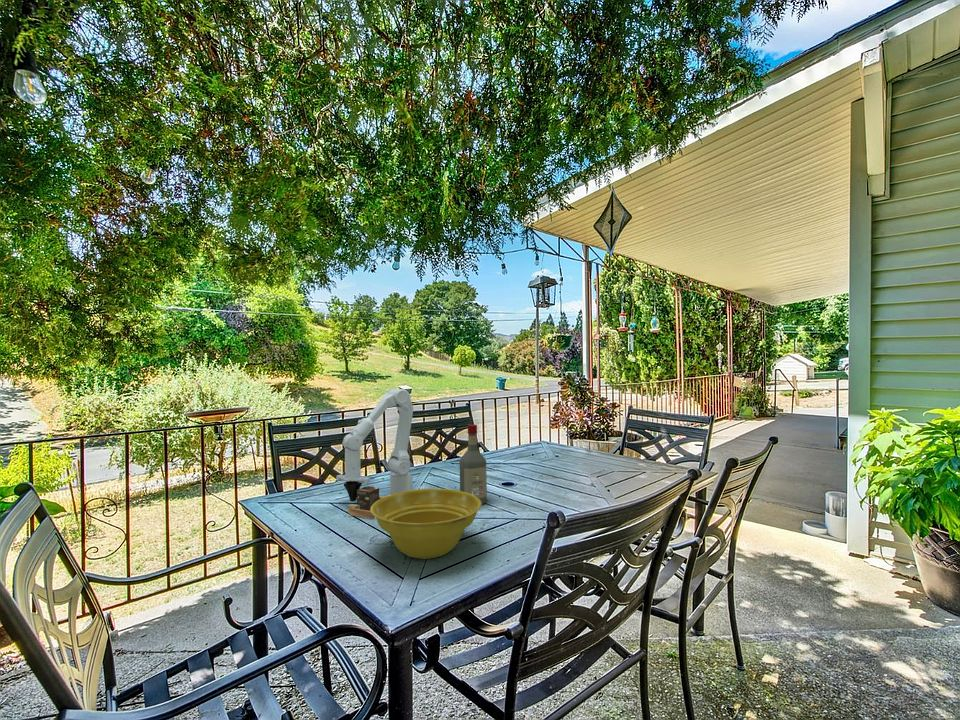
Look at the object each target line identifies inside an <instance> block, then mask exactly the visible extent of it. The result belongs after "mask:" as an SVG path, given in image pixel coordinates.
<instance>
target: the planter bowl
mask: <svg viewBox="0 0 960 720" xmlns="http://www.w3.org/2000/svg"><path fill="white" fill-rule="evenodd" d="M388 495H389V494H388ZM482 506H483V505H482V503H481V501H480V499H478V498H477V497H476V496H474V495H472V494H469V493H466V492H462V491H460V490H456V489H450V488H422V489H421V488H420V489H412V490H411V491H404V492H400V493H395V494H392V495H389V496H387V495H385V497H384V498H381V499H380V500H378V501H376V502H375V503H374V504H373V505H372V506H371V509H370V511H371V513H372V514H373V515H374V516H375V517H376V518H375V519H376V522H377V523H378V525H379V527H380V528H381V530H382V531H384V532H385V533H388V534H389V536H390V539H391V540H392V542H393V544H394V545H395V546H396V548H397V549H398V551H399V552H401V553H402V554H404V555H406V556H408V557H409V558H414V559H423V560H425V559H435V558H438V557H442V556H444V555H446V554H448V553H450V551H452V550H454V549H455V547H456V546H457V545H458V543H459V541H460V540H461V538H462V536H463V533H464V532H465V529H468V527H469V526H471V525H472V523H473V522H474V520H475V518H476V516H477V513H478V512H479V510H480V509H481V508H482Z"/></svg>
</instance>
